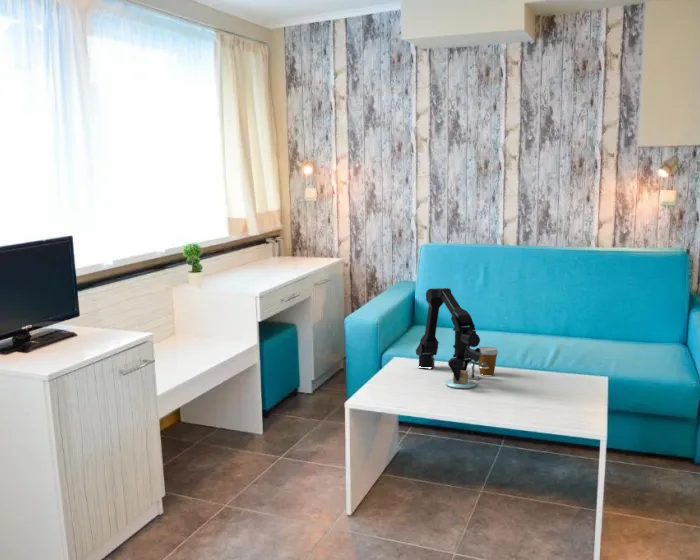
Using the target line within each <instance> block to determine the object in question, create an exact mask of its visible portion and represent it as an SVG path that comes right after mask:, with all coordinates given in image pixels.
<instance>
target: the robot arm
mask: <svg viewBox="0 0 700 560" xmlns="http://www.w3.org/2000/svg"><path fill="white" fill-rule="evenodd" d="M425 301H426V303H427V305H428V308H427V309H428V310H427V317H426V324H425V329H424V330H425V331H424V334H423V335H422V337H421V338H420V342H419V344H418V346H417V347H416V349H415V354H416V356H418V367H419V366H421V367H433V368H435V362H436V361H435V359H436V358H435V357H434V356H437V354H438V350H439V341H438V339H437V338H436V334H437V326H438V319H439V312H440V308H441V306H442V305H443V304H445V306H446V308H447V310H448V311H449V313H450V315H451V323H452V324H453V328H452V331H454V344H453V346H452V347H453V348H454V354H452V357H451V358H450V359H449V360H448V363H447V366H449V368H450V369H451V371H452V375H453V374H454V376H455V378H456V381H459V379H460V374H461V370H466V371H467V369H468V365H469V364H470V361H471V360H472V361H475V362H478V363H479V360H480V357H481V356H482V353H481V349H479V347H478V346H479V345H480V342H481V337H480V336H479V334H477V330H476V325H475V323H474V321H473V319H472V315H471V314H470V313H469V312H468V311H467V310H465V309H464V308H462V306H461V305H460V304H459V303H458V301H457V299H456V298H455V296H454V295H453V293H452V290H451V288H448V287H445V288H443V287H437V288H435V287H434V288H428V289H427V290H426V292H425ZM474 348H475V349H474Z"/></svg>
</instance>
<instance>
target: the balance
mask: <svg viewBox="0 0 700 560" xmlns="http://www.w3.org/2000/svg"><path fill="white" fill-rule="evenodd" d="M469 364H471V373H470V374H468V380H471V381H478V380H479V379H480V378H481V377H480V376H481V375H475V365H477V366H478V369H479V368H480V369H488V368H489V367H488V366H486V363H482V364H481V363H479V361H478V362H475V361H474V360H471V361H470V362H469ZM479 365H480V366H479ZM479 377H480V378H479Z"/></svg>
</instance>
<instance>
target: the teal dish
mask: <svg viewBox="0 0 700 560" xmlns="http://www.w3.org/2000/svg"><path fill="white" fill-rule="evenodd" d="M445 386H448V387H450V388H454V389H470V388H474V387H476V386H477V383H476V382H475V380H469V379H468V382H467V383H466V384H465V385H461V384H453V378H452V379H447V380H445Z"/></svg>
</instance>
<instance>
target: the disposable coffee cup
mask: <svg viewBox="0 0 700 560" xmlns="http://www.w3.org/2000/svg"><path fill="white" fill-rule="evenodd" d="M478 348H479V349H481V353H482V356H481V357H480V360H479V361H478V363H481V364H482V363H486V366H488V367H489V368H488V369H480V368H479V366H480V365H478V369H479V375H480V374H483V375H492V376H494V375H495V369H496V363H497V358H498V357H497V356H498V354H499V350H498V348H497V347H493V346H479V347H478ZM493 374H494V375H493ZM483 375H482V376H483Z"/></svg>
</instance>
